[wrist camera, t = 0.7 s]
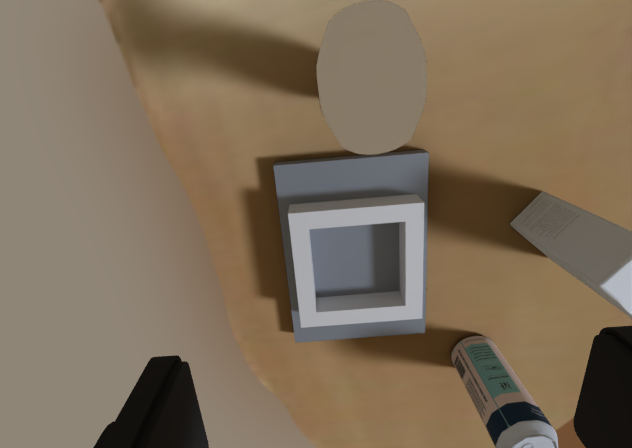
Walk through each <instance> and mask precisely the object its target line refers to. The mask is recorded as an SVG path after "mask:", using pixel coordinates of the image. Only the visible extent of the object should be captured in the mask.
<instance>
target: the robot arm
mask: <svg viewBox="0 0 632 448" xmlns="http://www.w3.org/2000/svg"><path fill="white" fill-rule="evenodd" d="M574 428H575V431H576V434H577V436H578V437H579V439H580V440H581V442H582V443H583V444H584V446H585V447H586V448H632V326H621V327H607V328H603V329H602V330H601V331H600V333H599V335H596V336H595V338H594V340H593V344H592V348H591V352H590V356H589V360H588V364H587V368H586V372H585V376H584V380H583V384H582V388H581V392H580V396H579V400H578V404H577V408H576V412H575V416H574ZM94 448H209V447H208V440H207V436H206V432H205V428H204V424H203V420H202V416H201V412H200V408H199V404H198V400H197V396H196V392H195V388H194V384H193V379H192V376H191V371H190V367H189V364H188V363H187V362H182V361H181V359H180V357H179V356H162V357H153V358H151V359H150V361H149V362H148V364H147V366H146V367H145V369H144V371H143V373H142V374H141V376H140V378H139V380H138V382H137V383H136V385H135V387H134V389H133V390H132V392H131V394H130V396H129V398H128V399H127V401H126V403H125V405H124V407H123V408H122V410H121V412H120V413H119V415H118V417H117V419H116V421H115V422H112V423H111V424H109V425H108V426H107V427H106V428H105V430H104V431H103V433H102V434H101V436H100V438H99V439H98V441H97V443H96V445H95V446H94Z"/></svg>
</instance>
